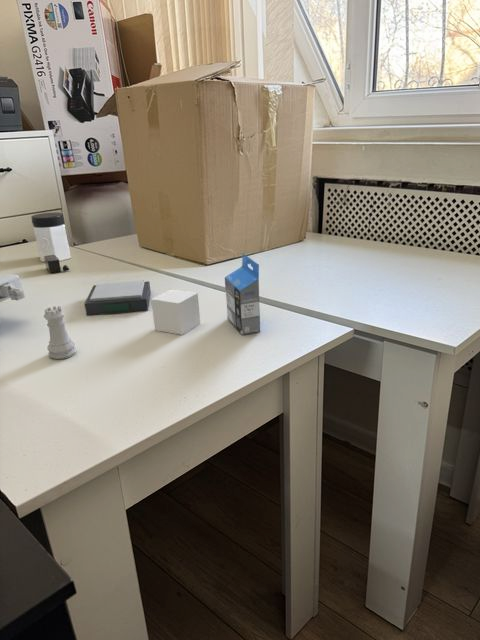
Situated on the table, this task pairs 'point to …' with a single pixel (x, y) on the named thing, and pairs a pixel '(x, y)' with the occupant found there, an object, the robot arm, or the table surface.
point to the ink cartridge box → (244, 297)
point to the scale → (118, 297)
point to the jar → (51, 235)
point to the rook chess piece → (58, 335)
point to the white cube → (176, 311)
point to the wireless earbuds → (54, 264)
